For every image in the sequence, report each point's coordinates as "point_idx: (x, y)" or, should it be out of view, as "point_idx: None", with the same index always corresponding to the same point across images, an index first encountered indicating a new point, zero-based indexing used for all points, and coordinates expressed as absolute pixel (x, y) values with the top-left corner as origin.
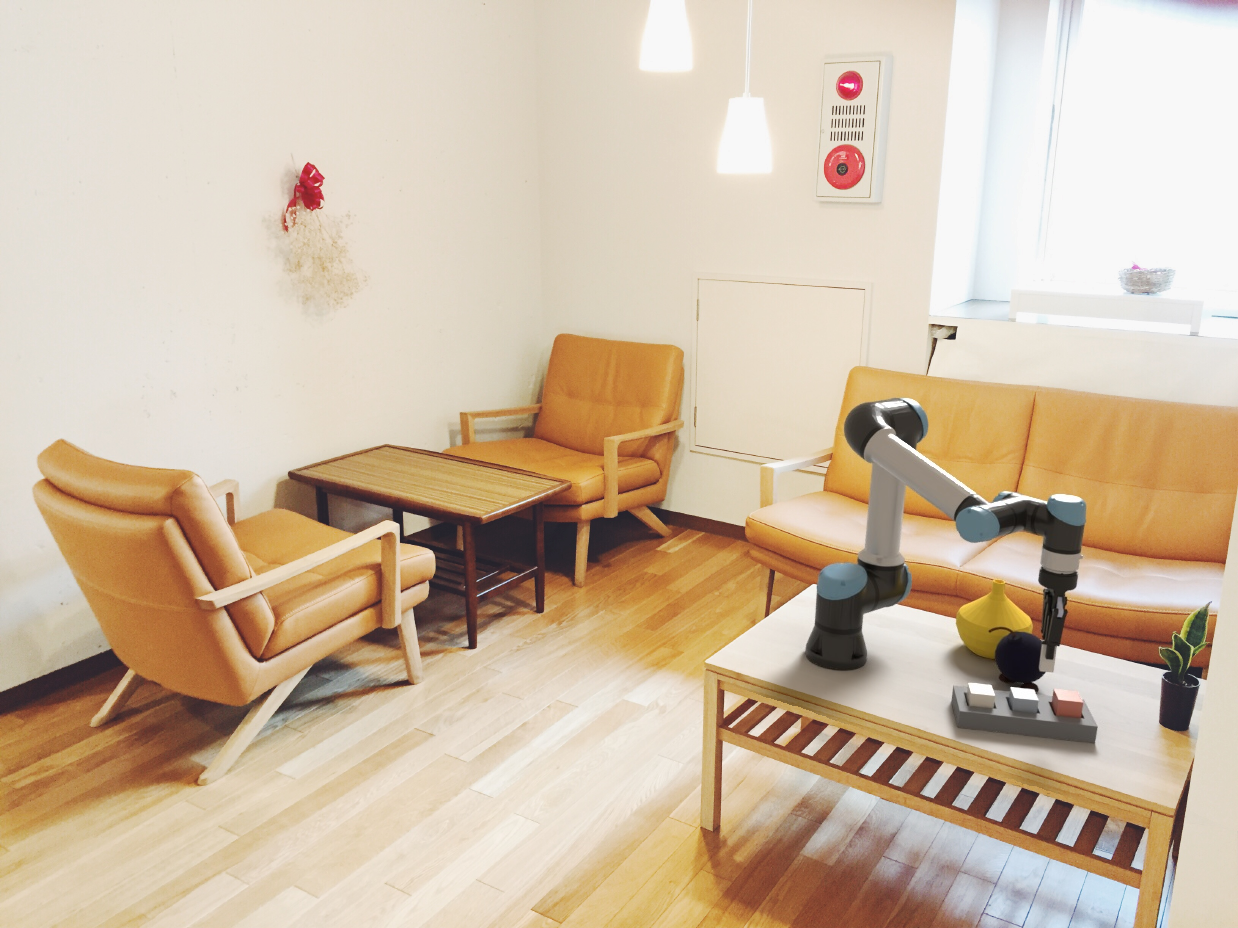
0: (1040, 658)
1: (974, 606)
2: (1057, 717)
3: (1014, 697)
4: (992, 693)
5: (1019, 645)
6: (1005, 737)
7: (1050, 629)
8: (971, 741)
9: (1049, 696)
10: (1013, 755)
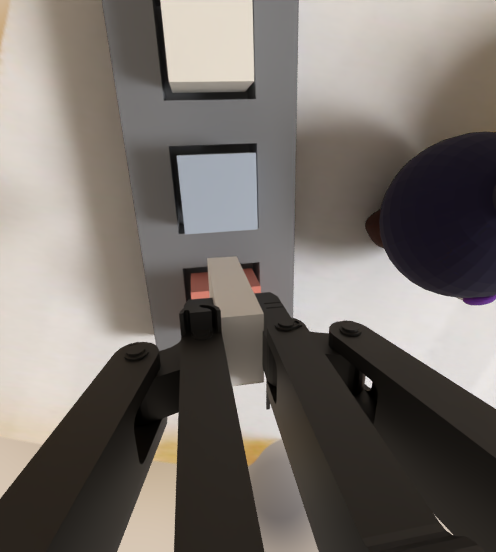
0: (237, 272)
1: None
2: (171, 275)
3: (179, 156)
4: (184, 74)
5: (474, 208)
6: (105, 130)
7: (18, 482)
8: (31, 11)
9: (288, 268)
10: (5, 139)
